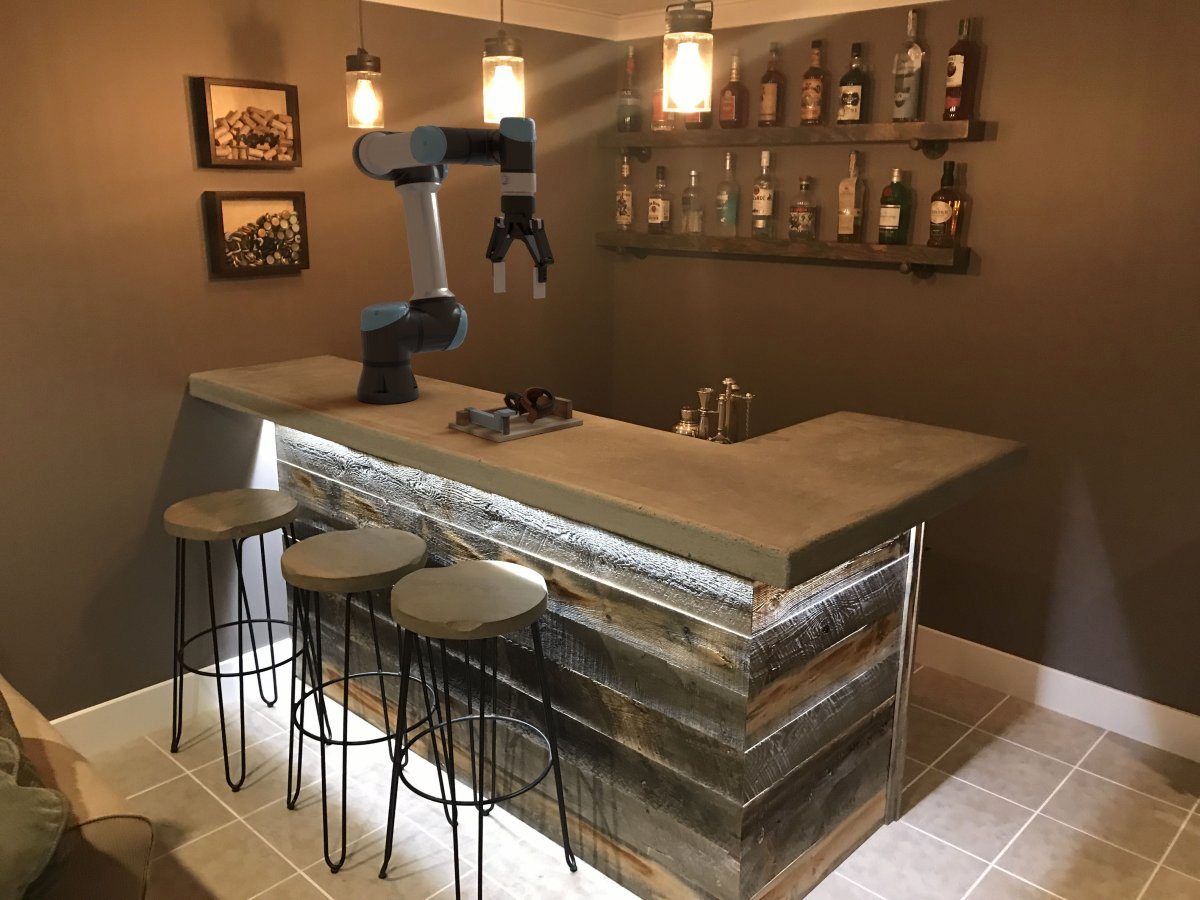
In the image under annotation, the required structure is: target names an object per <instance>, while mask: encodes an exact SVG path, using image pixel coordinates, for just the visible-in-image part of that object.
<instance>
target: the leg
mask: <svg viewBox="0 0 1200 900" xmlns="http://www.w3.org/2000/svg"><path fill="white" fill-rule="evenodd" d="M463 410H464V411H468V412H469V421H471V422H474V423H477V424H480V425H483V426H486V427H489V428H492V429H495V430H498V431H501V430H503V416H504V417H507V416H512V415H516V411H513V410H510V409H504V410H498V411H497V412H494V415H493V414H490V413H486V412H483V411H482V410H481V409H477V408H475V407H471V406H470V407H464V408H463Z"/></svg>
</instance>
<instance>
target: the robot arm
mask: <svg viewBox="0 0 1200 900" xmlns="http://www.w3.org/2000/svg"><path fill="white" fill-rule="evenodd" d="M536 134H537V131H536V122H535V120H534V119H533V118H531V117H523V116H522V117H518V116H506V117H505V116H504V117H502V118H501V119H500V121H499V128H477V127H476V128H475V127H453V126H452V127H451V126H450V127H449V126H436V125H419V126H416V127H415V128H414V129H413V130H410V131H386V130H374V131H373V130H372V131H368V132H366V133H364V134H362V135H360V136H358V138H357V139H356V141H354V143H353V147H352V151H351V152H352V154H351V155H352V160H353V163H354V165H355V167H356V169H358V171H359V172H360V173H362V174H363V175H364V176H366V177H368V178H370V179H374V180H377V181H382V182H383V181H384V182H385V181H387V182H391V181H392V182H393V184H394V191H396V193H398V195H400V196H401V199H402V207H403V214H404V221H405V222H404V223H405V229H406V231H405V232H406V236H407V237H406V238H407V245H408V253H409V261H410V262H409V263H410V268H411V270H410V271H411V278H412V284H413V286H412V287H413V294H412V295H411V296H410V298H409V300H408V302H409V303H408V302H407V301H403V300H394V301H393V300H392V301H383V302H379V303H378V302H377V303H374V304H370V305H368V306H366V307H364V308H363V309H361V312H360V324H359V329H360V341H361V355H362V356H361V357H362V370H361V373H360V376H359V380H358V384H357V388H356V399H357V400H358V401H360V402H362V403H367V404H368V403H370V404H378V405H379V404H384V405H385V404H399V403H407V402H410V401H414V400H417V399H418V398H419V397H420V388H419V385H418V382H417V380H416V377H415V375H414V371H413V369H412V366H411V355H413V354H421V353H422V354H423V353H431V352H445V351H449V350H454V349H457V348H459V347H460V346H461V345H462V344H463V342H464V340H465V339H466V336H467V331H468V321H469V320H468V314H467V311H466V310H465V307H464V306H463V305H462V304H461V303H458V302H457V299H456V295H455V294H454V293H453V292H452V291H450V289H449V285H448V283H449V282H448V277H447V276H448V275H447V269H446V267H447V266H446V260H445V252H444V245H443V244H444V243H443V234H442V227H441V219H440V212H439V211H440V210H439V202H438V201H439V200H438V195H437V194H438V192H439V191H440V190H441V188H443V186H442V185H443V184H442V182H443V181H444V180H445V179H446V178H447V176H448V173H449V171H448V169H449V166H450V165H466V166H467V165H468V166H470V165H471V166H473V165H474V166H484V167H487V166H488V167H493V166H500V167H499V168H500V192H501V193H503V194H502V195H501V196H500V213H502V214H504V216H495V217H494V221H493V228H492V230H491V231H492V232H491V236H490V238H489V242H488V246H487V249H486V253H485V258H486V259H487V260H490V262H491V263H492V278H493V293H494V294H499V293H506V262H505V256H506V255H507V253H508V251H509V250H510V249H511V248H510V247H511V246H512V245H513V241H516V240H519V241H520V240H521V241H522V242H523V243H524V244H525V247H526V249H527V250H528V253H529V254H530V256H531V258H532V260H533V262H534V266H533V268H532V269H533V270H532V271H533V272H532V273H533V277H532V278H533V279H532V280H533V285H532V286H533V299H535V300H536V299H546V283H547V281H548V273H547V272H548V267H549V266H551V265H554V264H555V259H554V256H553V253H552V250H551V246H550V242H549V240H548V236H547V233H546V230H545V221H544V218H534V217H533V216H534V214H536V212H537V197H536V195H534V194H535V193H537V172H536V171H537V139H538V137H537V135H536Z"/></svg>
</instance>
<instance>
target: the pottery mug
mask: <svg viewBox="0 0 1200 900" xmlns="http://www.w3.org/2000/svg"><path fill="white" fill-rule="evenodd" d="M543 394H545V395H546V396H547V397H548V398H549V399H551V403H550V404H548V405H545V406H541V405H539V404H537V403H536V402H537V400H538V398H539V397H542V396H543ZM554 396H555V394H554V393H553V392H552V391H551V390H549V389H547V388H544V387H541V386H531V387H527V388H526V389H524V391H523V393H517V392H515V391H509V392H507V393H506V394H505V395H504V398H503V402H504V404H505V406H507V407H508V408H509V409H510V410H513V411H516V415H517V414H518V411H519V416H521V415H522V414H524V413H529V414H528V417H527V422H529V423H531V424H533V423H534V422H535V421H536V419H537V420H538V419H542V418H544V417H547V416H549V415H551V414H552V413H553V412H554V411H555V409H556V408H557V406H556V403H555V397H556V396H555V397H554ZM512 401H513V402H514V403H513V402H512Z"/></svg>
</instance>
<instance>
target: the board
mask: <svg viewBox="0 0 1200 900" xmlns="http://www.w3.org/2000/svg"><path fill="white" fill-rule="evenodd" d="M554 397H555V403H556V406H557V408H556V409H555V411H554V412H553V413H552V414H551V415H549V416H547V417H544V418H542V419H538V420H537V419H536V421H535V422H534V423H533V424H531V423H529V422H527V417H528V414H529V413H524V414H522V415H521V416H519V411H518V414H517V415H512V416H507V417H504V416H503V430H501V431H498V430H495V429H492V428H489V427H486V426H483V425H480V424H477V423H474V422H471V421H469V412H468V411H464V409H461V410H456V411H455V420H454V421H448V422H447V427H448V428H452V429H455V430H458V431H461V432H464V433H467V434H471V435H474V436H477V437H480V438H484V439H487V440H490V441H493V442H495V443H496V442H497V443H502V442H509V441H512V440H513V441H514V440H517V439H522V438H526V437H530V436H534V435H540V433H541V434H544V433H550V432H554V431H559V430H563V429H567V428H568V429H569V428H573V427H577V426H580V425H581V426H582V425H584V420H583V419H581V418H576V417H573V400H571V399H567V398H563V397H558V396H555V395H554ZM536 403H537V404H539V405H541V406H545V405H548V404H550V403H551V399H549V398H548V397H547V396H546V395H545V394H543V396H542V397H539V398H538V400H537V402H536ZM504 409H509V408H508V407H507V406H506V405H504V406H500V407H493V408H488V409H482V410H481V411H483V412H486V413H490V414H493V415H494V412H497V411H498V410H504Z"/></svg>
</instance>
